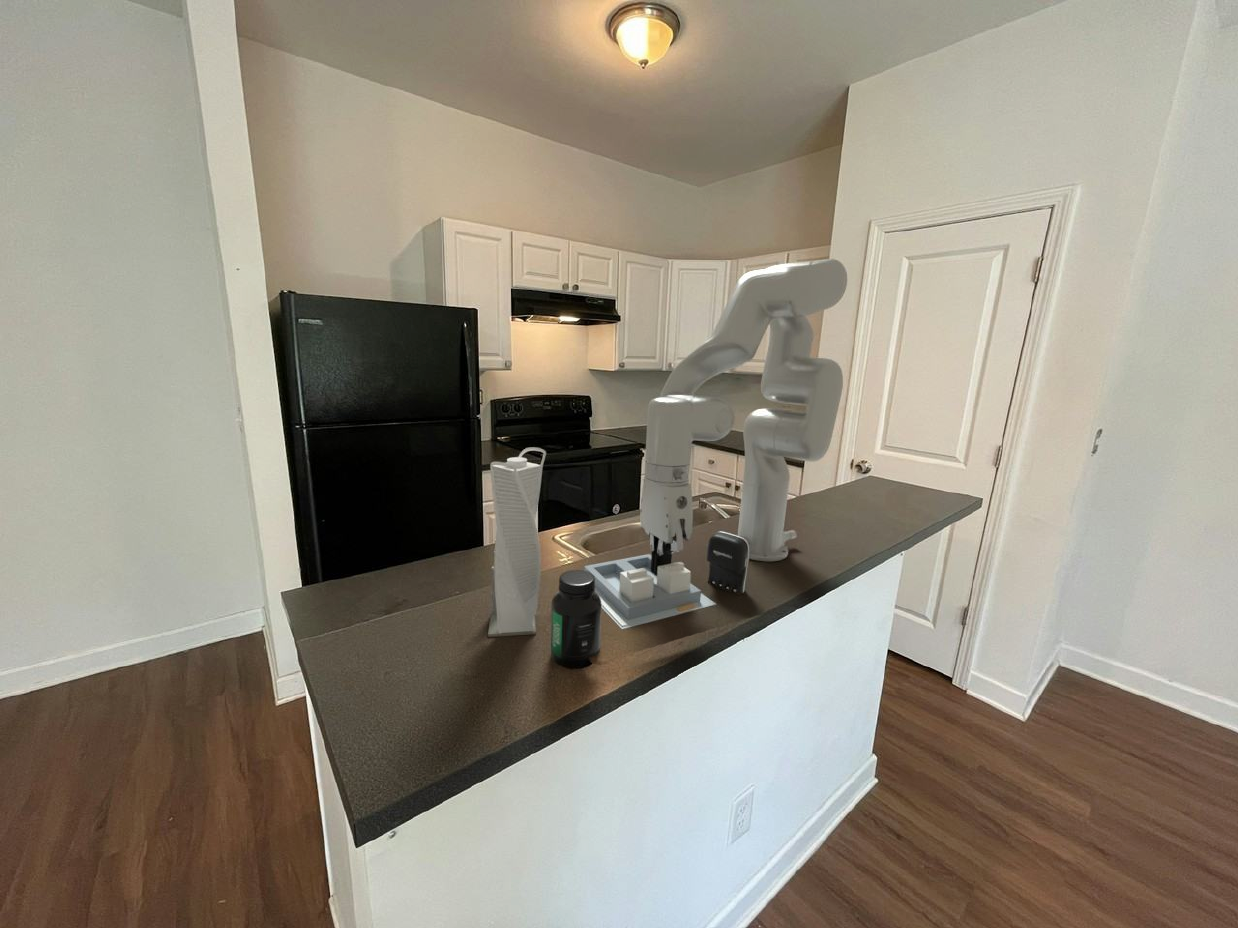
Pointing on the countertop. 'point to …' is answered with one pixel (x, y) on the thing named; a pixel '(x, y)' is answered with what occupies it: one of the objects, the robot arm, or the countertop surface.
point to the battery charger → (728, 561)
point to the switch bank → (646, 609)
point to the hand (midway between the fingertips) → (660, 572)
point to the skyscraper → (515, 546)
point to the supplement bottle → (575, 620)
